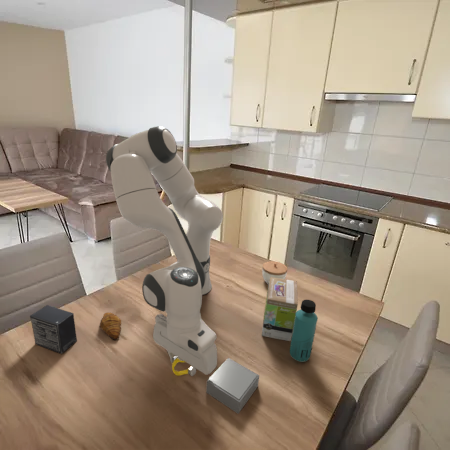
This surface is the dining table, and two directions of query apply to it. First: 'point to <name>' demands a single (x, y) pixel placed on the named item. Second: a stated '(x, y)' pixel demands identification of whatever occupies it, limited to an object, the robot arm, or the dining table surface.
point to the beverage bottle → (303, 331)
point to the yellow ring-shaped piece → (179, 371)
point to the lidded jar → (273, 270)
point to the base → (232, 384)
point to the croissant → (111, 325)
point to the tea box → (280, 309)
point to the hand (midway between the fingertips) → (183, 367)
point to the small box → (54, 328)
